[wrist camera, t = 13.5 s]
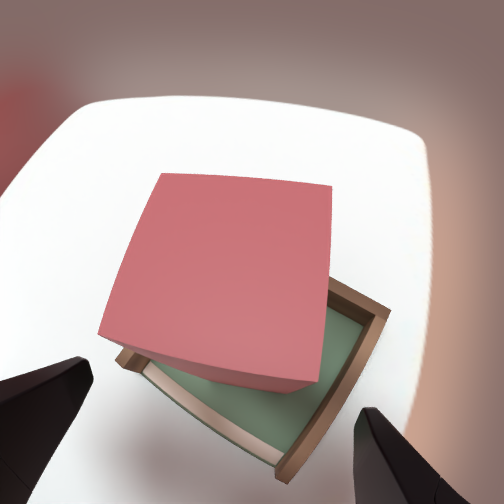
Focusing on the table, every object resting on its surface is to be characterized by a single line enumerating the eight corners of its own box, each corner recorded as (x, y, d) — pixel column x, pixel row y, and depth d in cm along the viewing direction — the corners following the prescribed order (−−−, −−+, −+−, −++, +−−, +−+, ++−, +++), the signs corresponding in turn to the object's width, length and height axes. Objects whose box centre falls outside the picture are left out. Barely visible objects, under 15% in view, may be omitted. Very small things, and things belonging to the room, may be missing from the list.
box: (285, 472, 14) (287, 484, 11) (135, 367, 18) (114, 360, 15) (376, 323, 19) (391, 310, 16) (230, 243, 23) (224, 220, 20)
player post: (286, 394, 16) (317, 381, 5) (209, 380, 17) (97, 334, 6) (297, 320, 19) (332, 186, 7) (225, 310, 19) (161, 173, 8)
